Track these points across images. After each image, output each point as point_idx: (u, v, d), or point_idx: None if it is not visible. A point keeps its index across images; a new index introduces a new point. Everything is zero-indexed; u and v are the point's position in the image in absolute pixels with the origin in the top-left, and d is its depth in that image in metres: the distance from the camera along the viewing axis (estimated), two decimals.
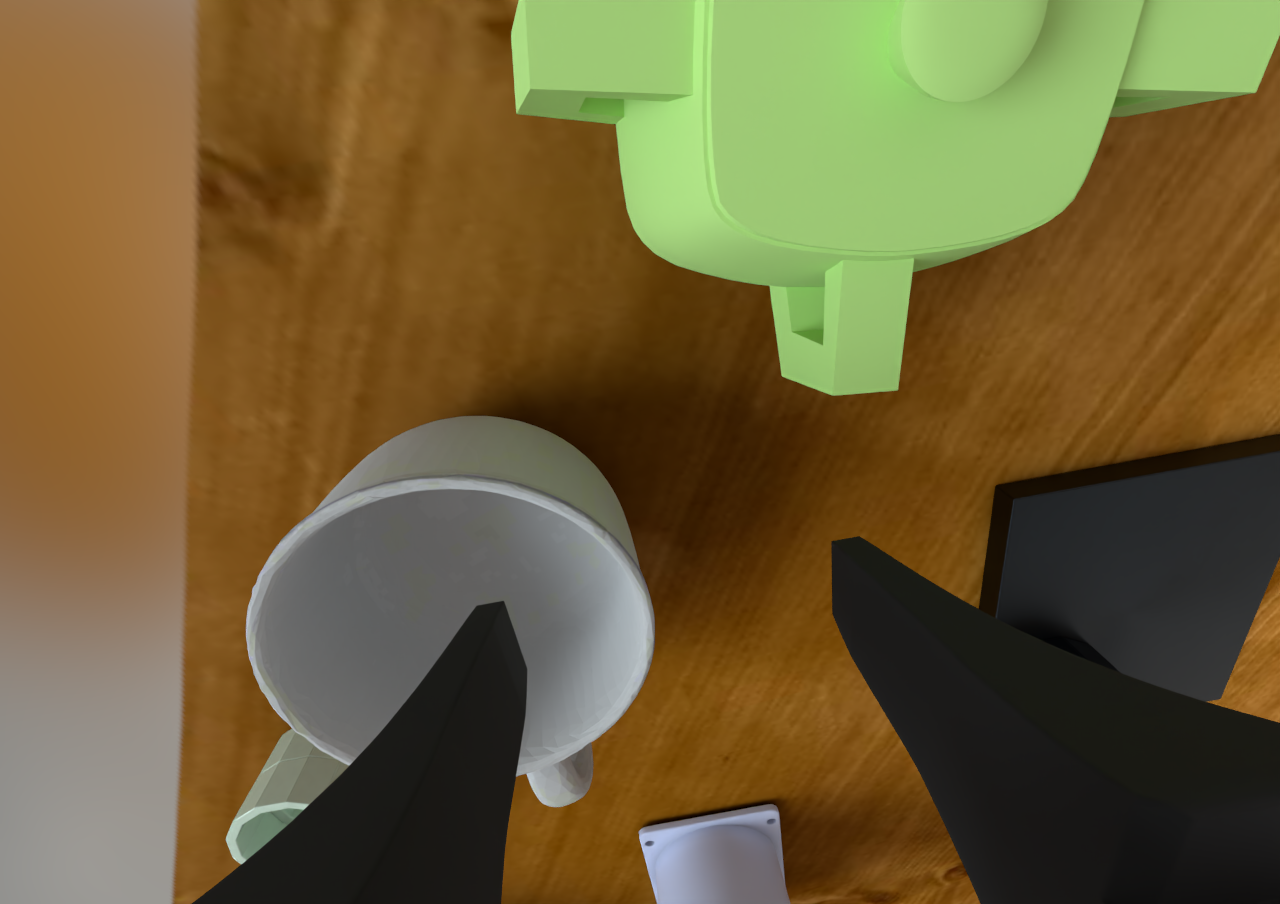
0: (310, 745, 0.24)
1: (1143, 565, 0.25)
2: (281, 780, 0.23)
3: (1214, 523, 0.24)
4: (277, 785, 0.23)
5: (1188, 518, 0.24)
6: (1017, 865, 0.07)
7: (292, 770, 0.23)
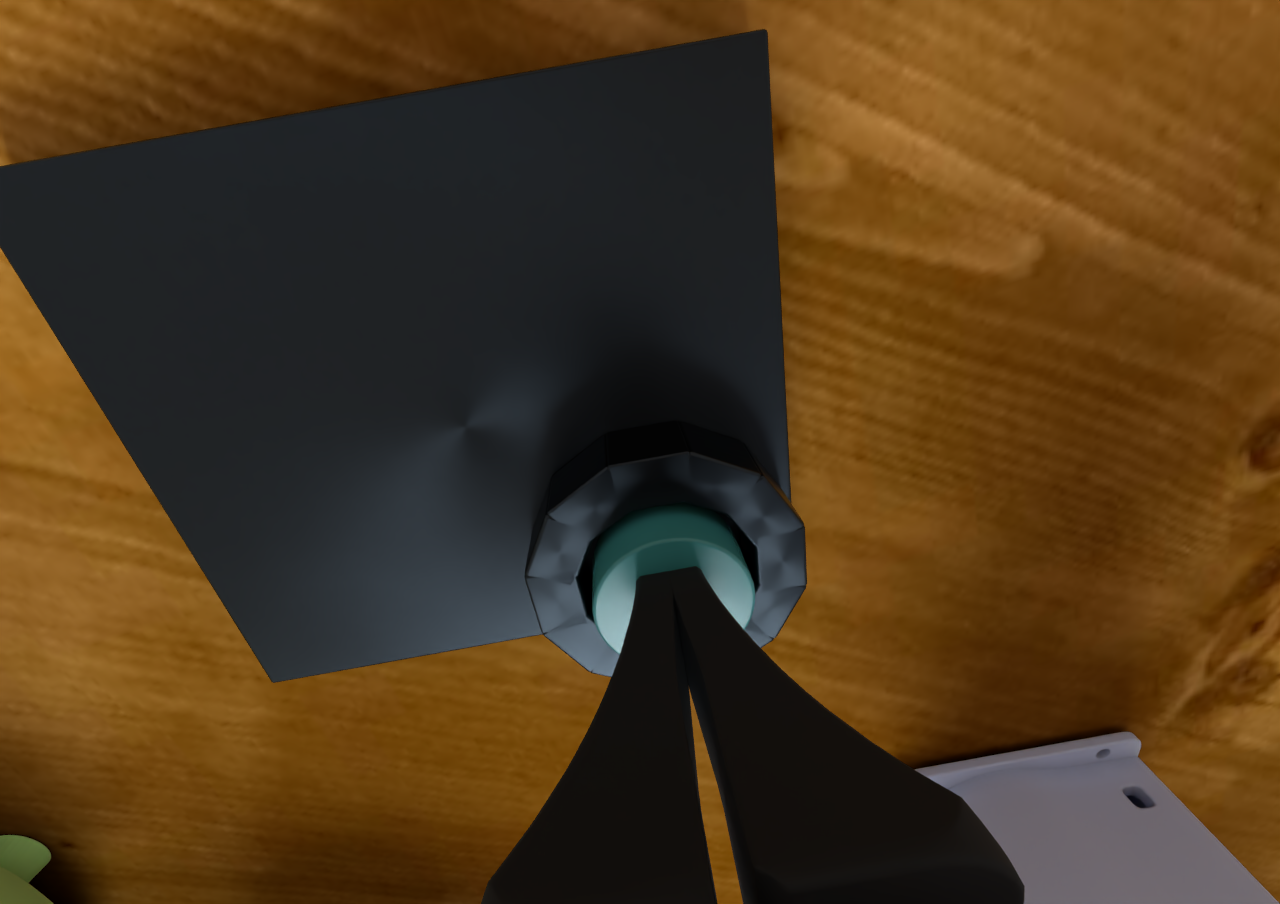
0: None
1: (351, 448, 0.13)
2: None
3: (225, 348, 0.12)
4: None
5: (228, 408, 0.12)
6: None
7: None
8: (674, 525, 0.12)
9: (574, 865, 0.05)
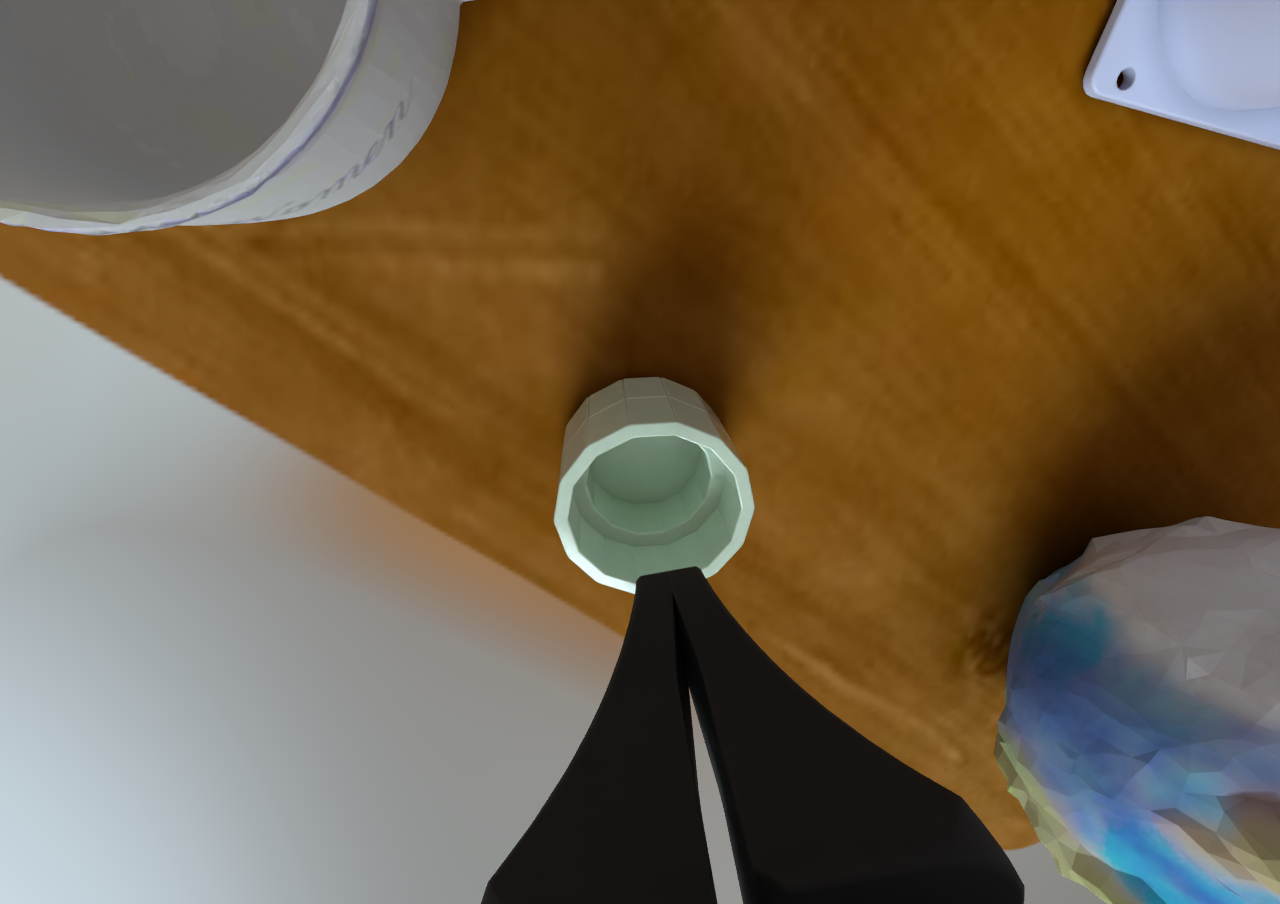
0: None
1: None
2: None
3: None
4: (557, 491, 0.16)
5: None
6: None
7: None
8: None
9: (574, 865, 0.05)
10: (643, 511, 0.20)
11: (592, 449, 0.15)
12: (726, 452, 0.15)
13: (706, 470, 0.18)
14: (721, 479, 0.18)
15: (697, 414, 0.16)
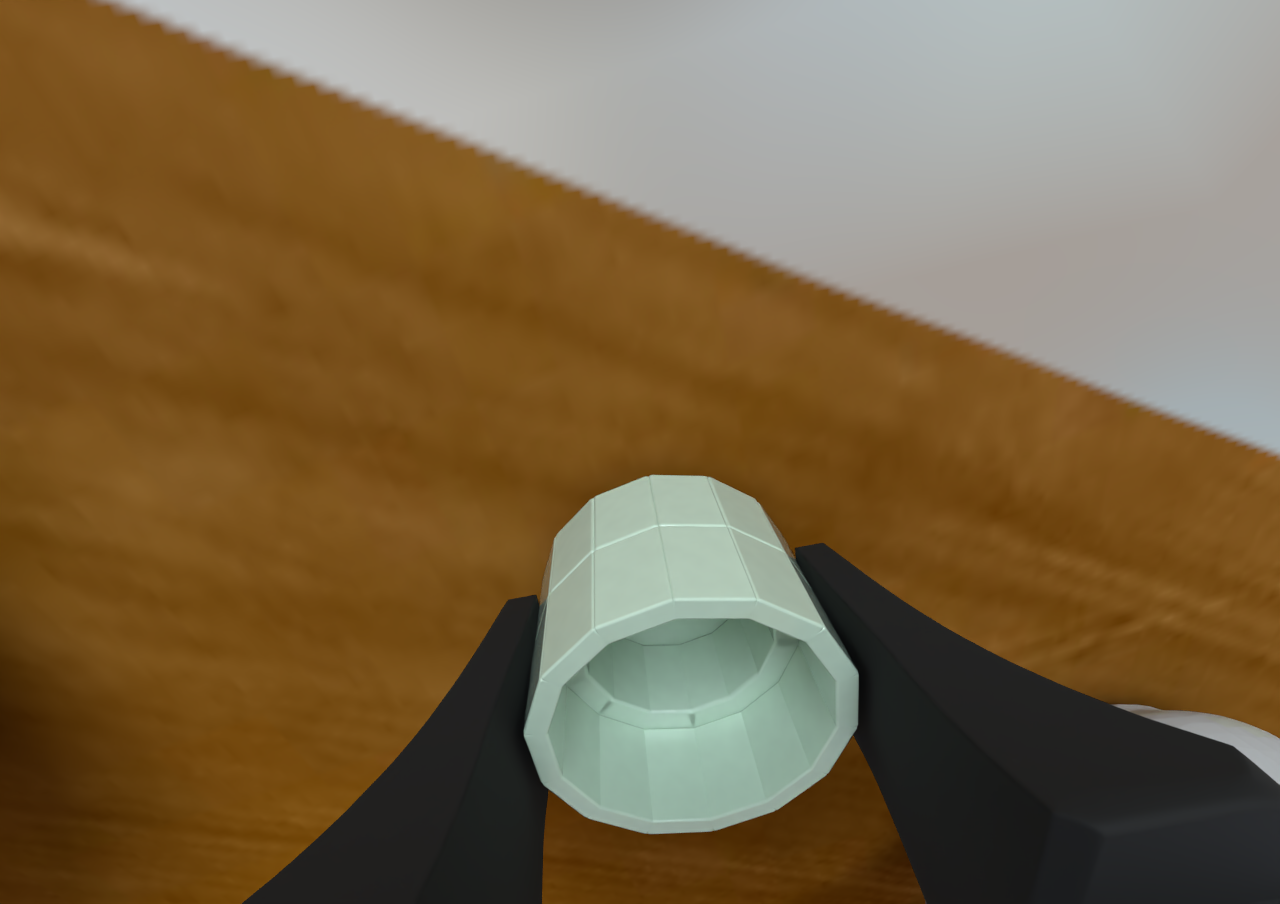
0: None
1: None
2: None
3: None
4: None
5: None
6: (958, 876, 0.07)
7: None
8: None
9: None
10: None
11: (820, 774, 0.10)
12: (630, 827, 0.10)
13: None
14: (571, 678, 0.11)
15: None
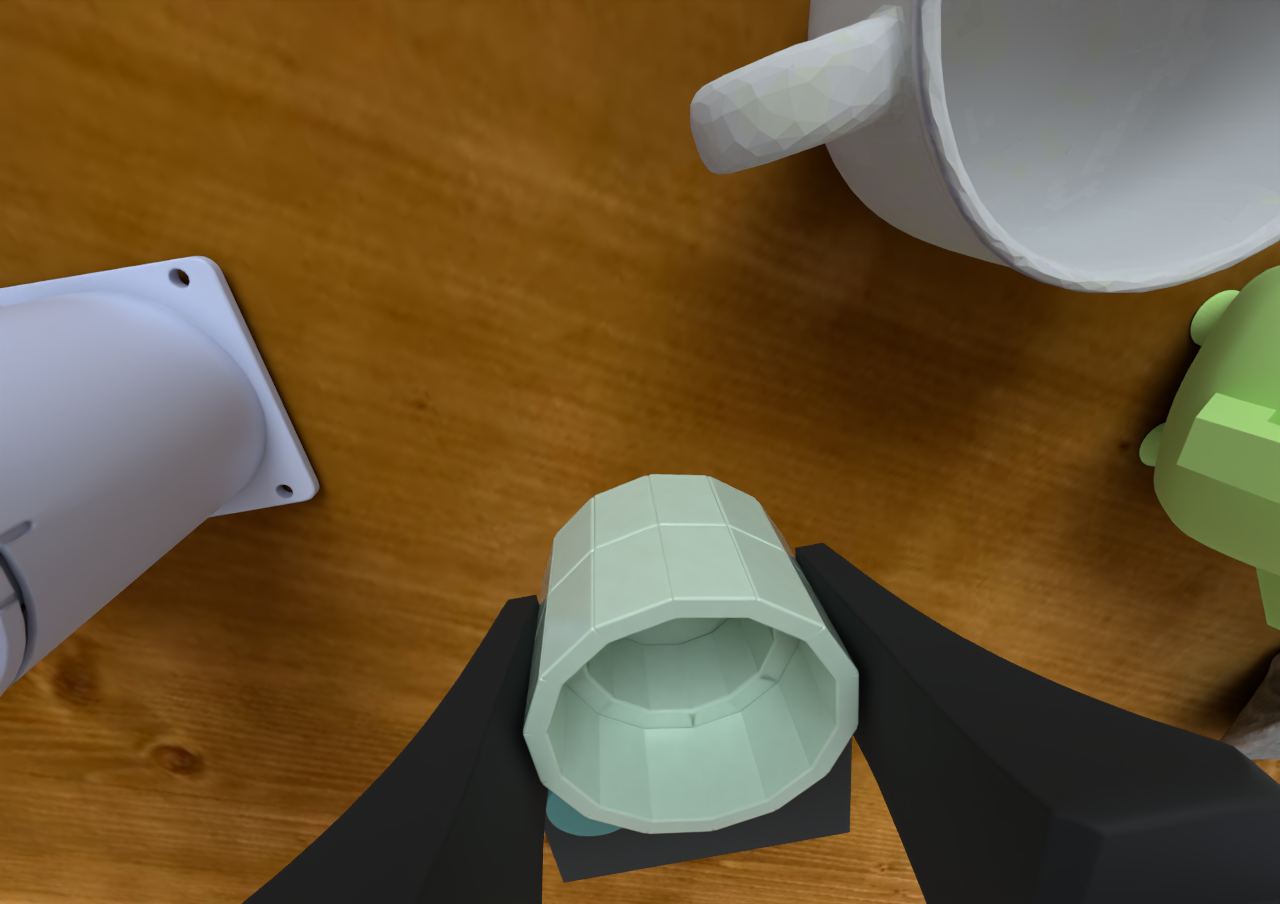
0: None
1: None
2: None
3: None
4: None
5: None
6: (958, 876, 0.07)
7: None
8: None
9: None
10: None
11: (819, 774, 0.10)
12: (630, 827, 0.10)
13: None
14: (571, 678, 0.11)
15: None
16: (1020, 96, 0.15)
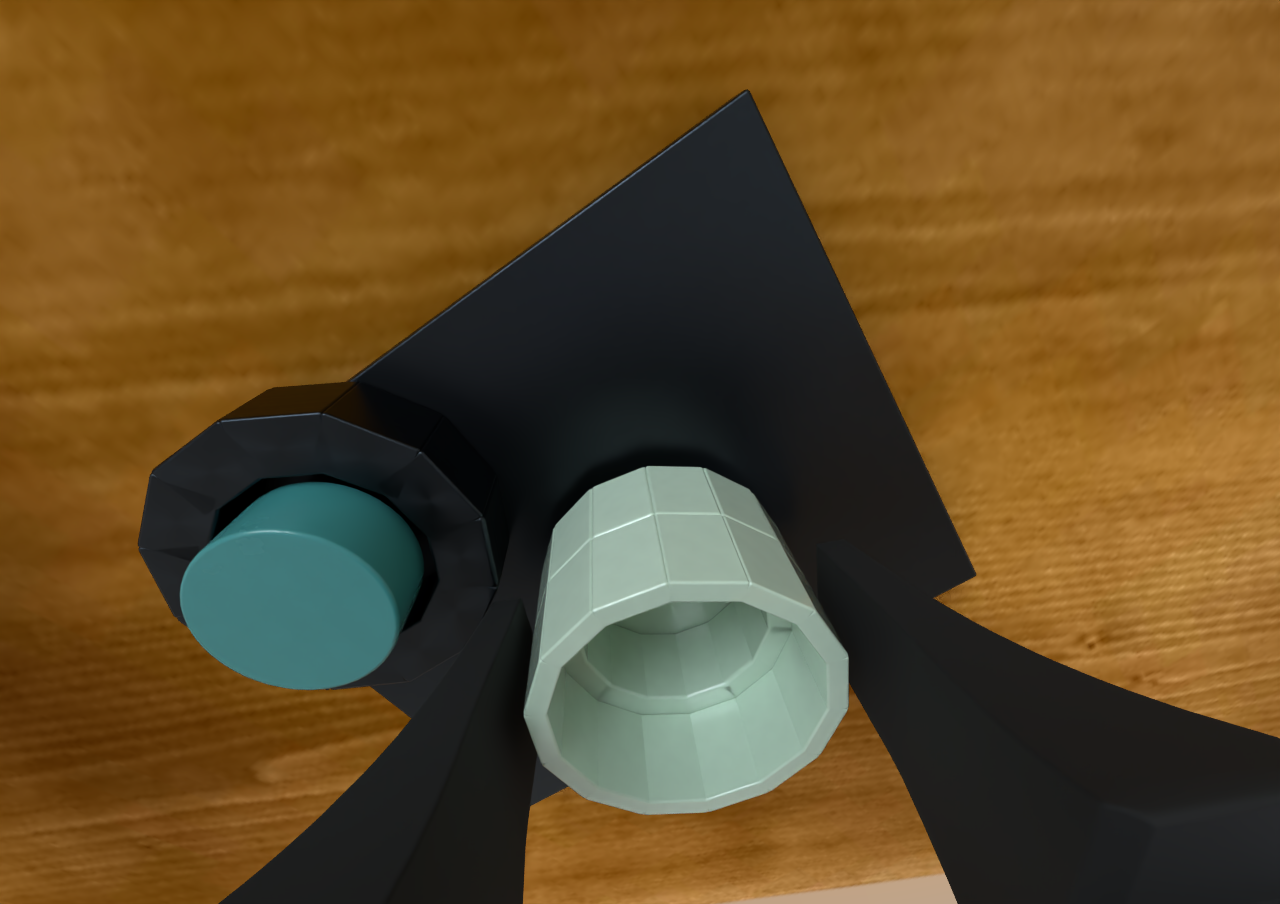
0: None
1: None
2: None
3: (811, 537, 0.14)
4: None
5: (809, 489, 0.13)
6: (992, 869, 0.07)
7: None
8: None
9: None
10: None
11: (811, 756, 0.10)
12: (627, 808, 0.11)
13: None
14: (570, 664, 0.12)
15: None
16: None
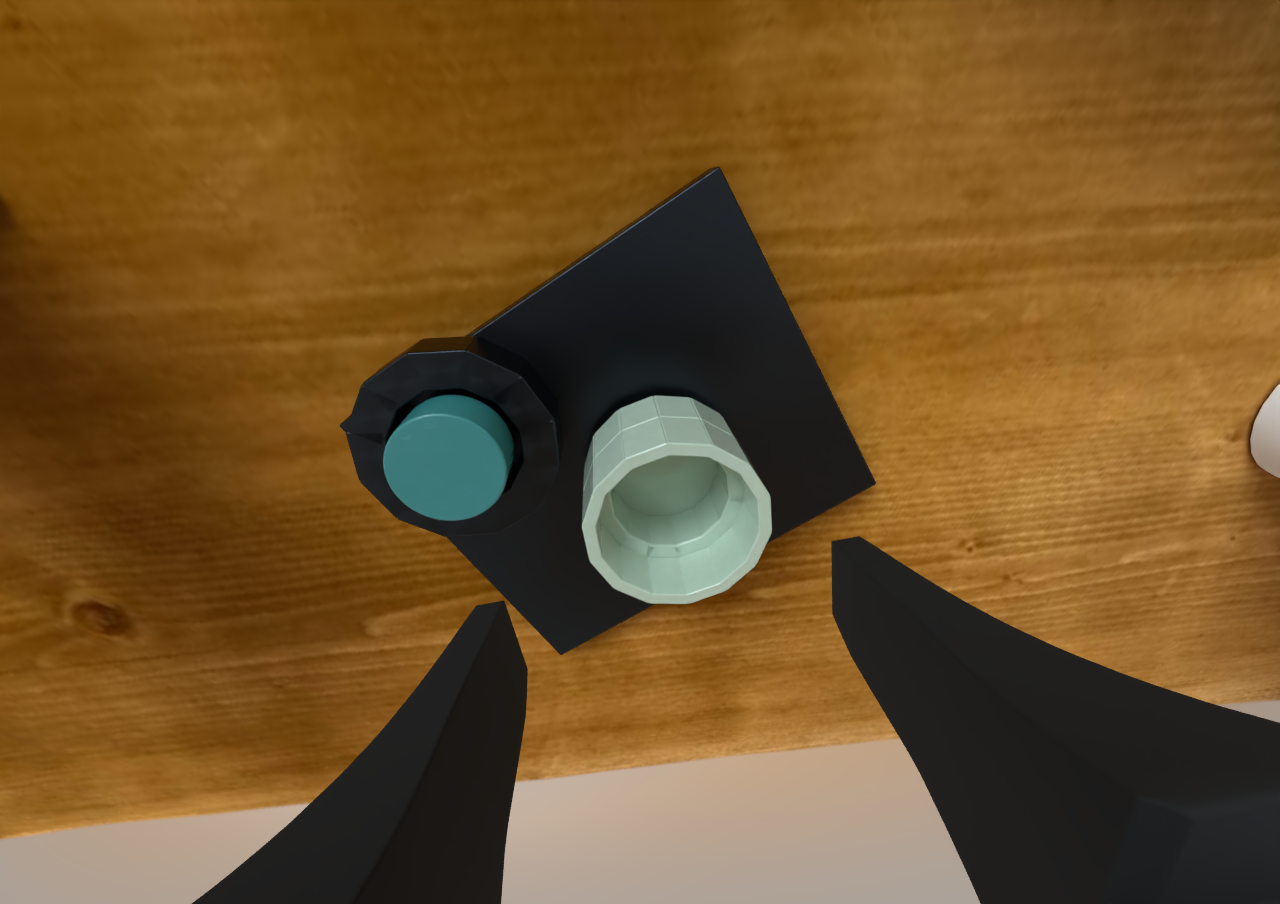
0: None
1: None
2: None
3: (762, 451, 0.21)
4: None
5: (760, 417, 0.20)
6: (1017, 865, 0.07)
7: None
8: None
9: None
10: None
11: (751, 565, 0.17)
12: (639, 596, 0.17)
13: (613, 505, 0.19)
14: (604, 518, 0.18)
15: None
16: None
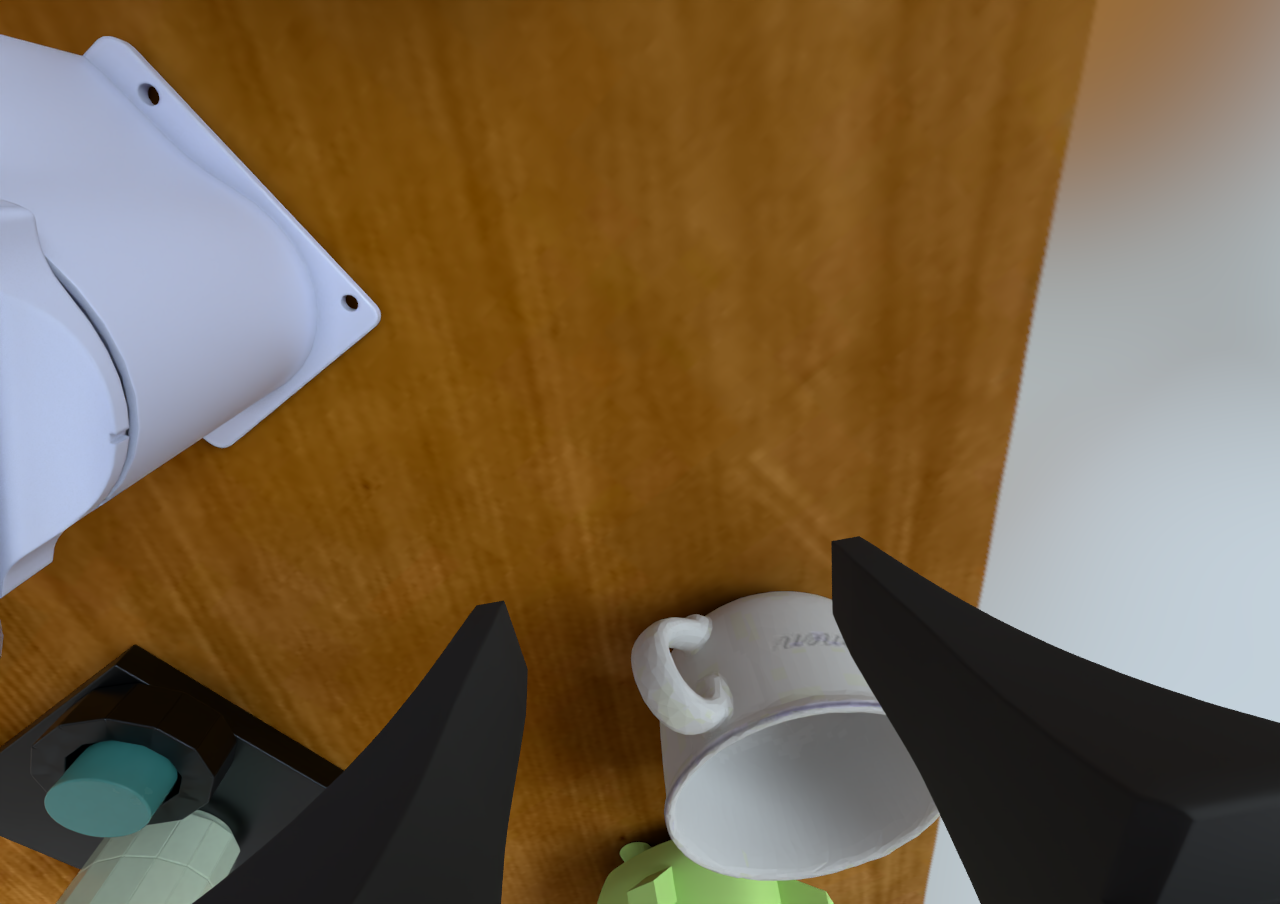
0: None
1: None
2: None
3: None
4: None
5: None
6: (1017, 865, 0.07)
7: None
8: None
9: None
10: None
11: None
12: None
13: None
14: None
15: None
16: None
